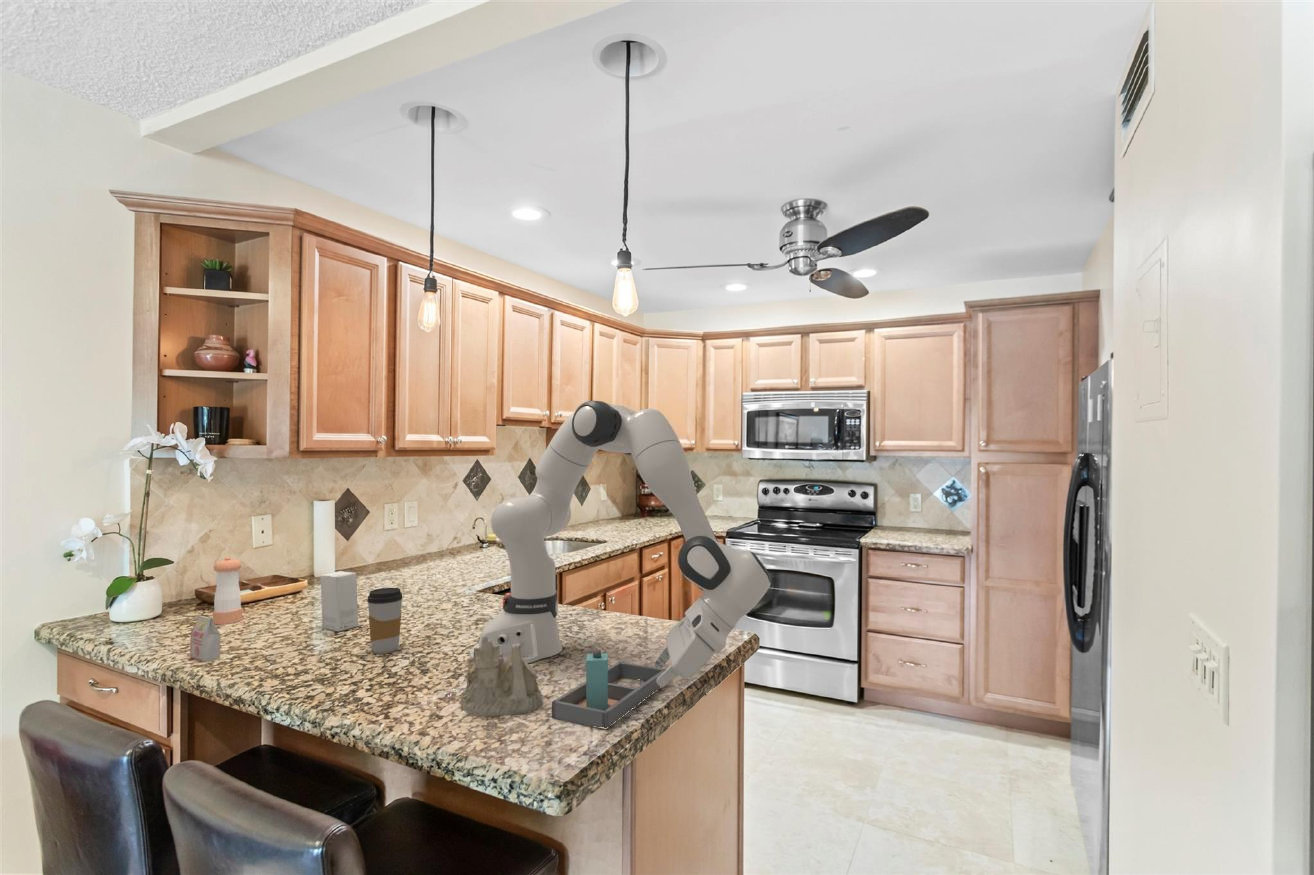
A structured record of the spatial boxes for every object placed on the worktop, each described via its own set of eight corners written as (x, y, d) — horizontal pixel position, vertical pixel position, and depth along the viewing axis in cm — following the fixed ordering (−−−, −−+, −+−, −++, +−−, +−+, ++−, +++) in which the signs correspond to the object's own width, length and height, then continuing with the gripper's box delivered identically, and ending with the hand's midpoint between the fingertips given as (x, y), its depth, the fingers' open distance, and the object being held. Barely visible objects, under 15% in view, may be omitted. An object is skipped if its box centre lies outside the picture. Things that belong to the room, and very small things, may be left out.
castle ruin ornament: (541, 713, 122) (537, 633, 123) (453, 721, 120) (450, 640, 121) (546, 688, 137) (543, 617, 139) (468, 695, 136) (465, 623, 137)
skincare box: (358, 627, 183) (358, 572, 184) (336, 632, 178) (336, 576, 178) (341, 622, 188) (341, 570, 188) (319, 628, 182) (319, 573, 183)
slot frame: (606, 729, 115) (606, 713, 115) (551, 717, 120) (551, 701, 120) (667, 683, 137) (667, 669, 137) (619, 675, 142) (618, 661, 142)
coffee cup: (408, 649, 162) (408, 590, 162) (375, 657, 156) (375, 596, 156) (394, 642, 168) (393, 585, 168) (361, 650, 162) (361, 591, 162)
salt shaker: (231, 624, 187) (231, 559, 187) (206, 624, 187) (207, 559, 188) (247, 617, 194) (247, 555, 195) (224, 618, 195) (224, 555, 195)
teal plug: (586, 713, 121) (586, 654, 121) (587, 704, 125) (587, 647, 125) (607, 712, 121) (607, 653, 122) (607, 704, 125) (607, 647, 126)
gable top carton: (207, 653, 161) (207, 613, 161) (220, 657, 157) (220, 617, 157) (190, 657, 157) (190, 616, 158) (203, 662, 154) (203, 620, 154)
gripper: (689, 599, 135) (643, 647, 134) (701, 626, 114) (647, 682, 114) (710, 620, 135) (665, 667, 134) (726, 650, 115) (672, 706, 114)
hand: (657, 675), depth 124 cm, fingers open, 8 cm apart
